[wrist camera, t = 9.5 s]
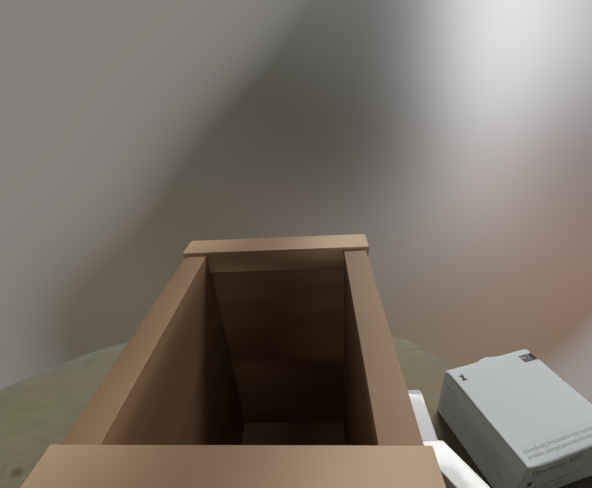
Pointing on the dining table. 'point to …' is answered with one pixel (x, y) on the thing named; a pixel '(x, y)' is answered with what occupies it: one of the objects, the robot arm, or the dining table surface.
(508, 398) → the small box
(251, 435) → the walnut crate
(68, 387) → the dining table surface
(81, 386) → the dining table surface
